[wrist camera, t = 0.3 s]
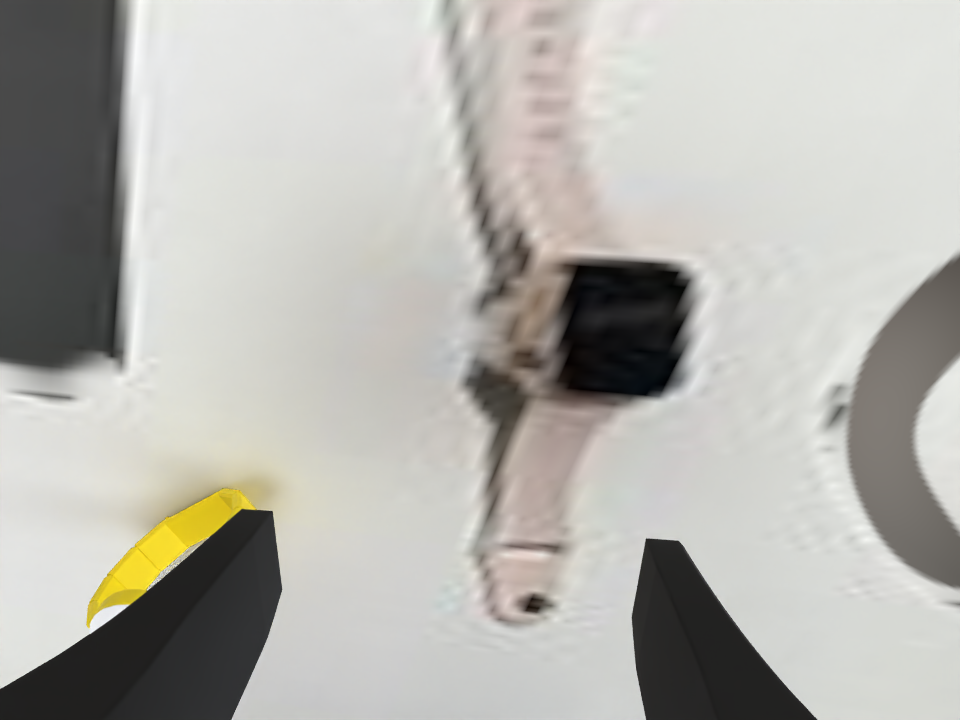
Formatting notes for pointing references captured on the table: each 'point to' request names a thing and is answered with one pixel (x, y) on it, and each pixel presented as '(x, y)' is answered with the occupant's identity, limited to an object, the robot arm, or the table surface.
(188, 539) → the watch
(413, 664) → the table surface
